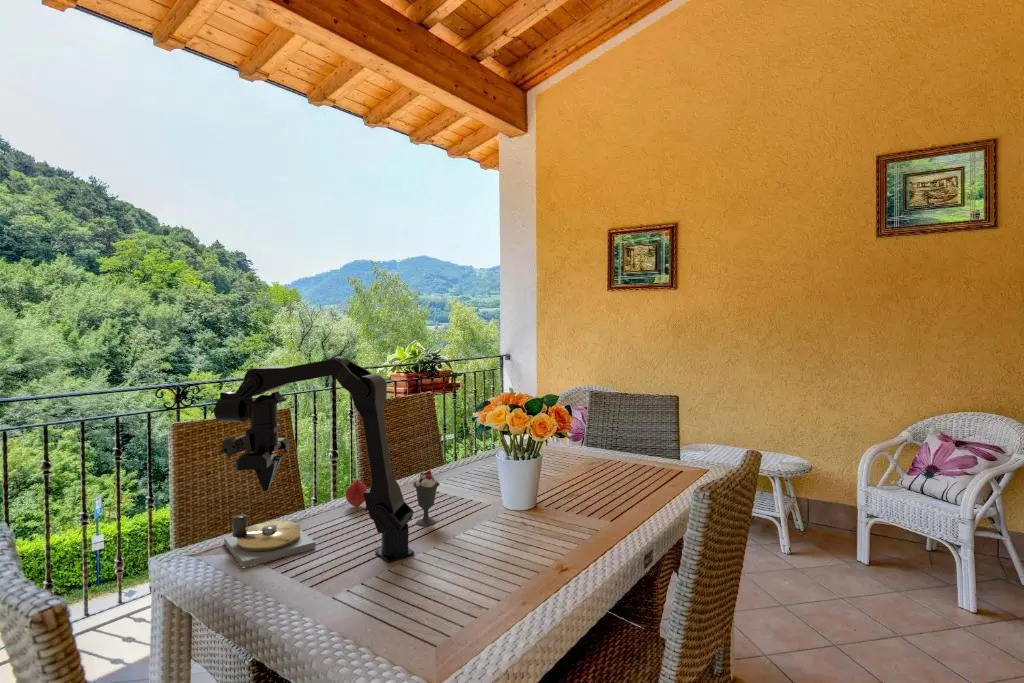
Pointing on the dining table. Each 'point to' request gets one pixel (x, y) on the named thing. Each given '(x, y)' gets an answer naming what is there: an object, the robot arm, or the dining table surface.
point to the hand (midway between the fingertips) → (265, 490)
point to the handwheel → (264, 534)
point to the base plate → (257, 557)
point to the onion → (356, 493)
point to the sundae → (426, 496)
